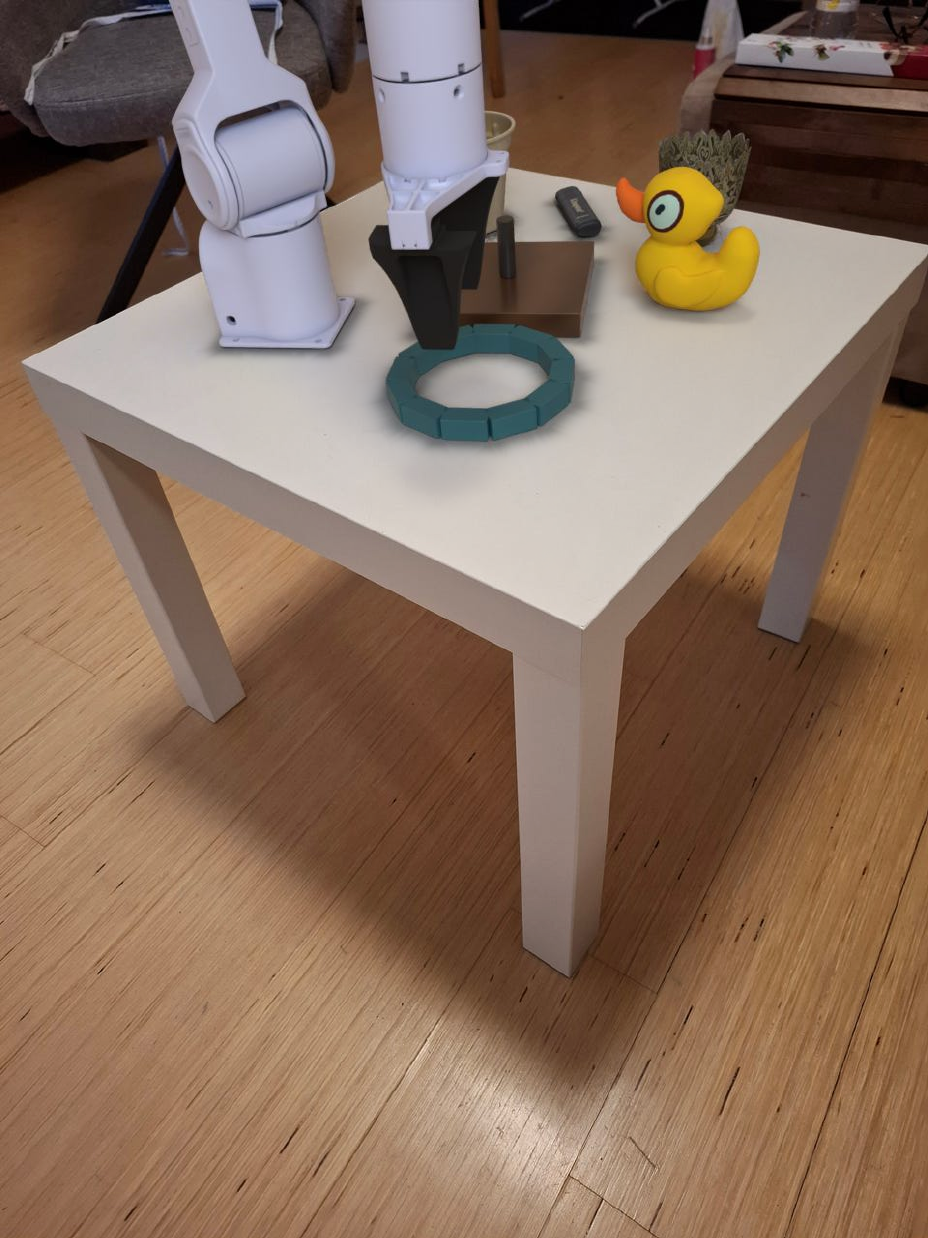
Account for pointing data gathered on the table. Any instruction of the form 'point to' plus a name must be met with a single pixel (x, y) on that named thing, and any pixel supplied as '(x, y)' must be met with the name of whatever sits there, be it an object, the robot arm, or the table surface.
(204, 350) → the table surface
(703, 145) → the cup
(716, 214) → the duckling
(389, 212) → the robot arm
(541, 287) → the ring toss peg base
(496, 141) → the flower pot
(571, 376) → the teal segmented ring
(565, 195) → the usb stick
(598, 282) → the table surface
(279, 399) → the table surface
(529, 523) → the table surface
